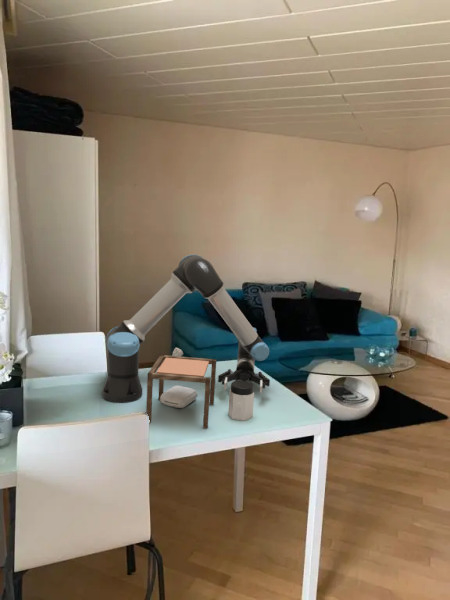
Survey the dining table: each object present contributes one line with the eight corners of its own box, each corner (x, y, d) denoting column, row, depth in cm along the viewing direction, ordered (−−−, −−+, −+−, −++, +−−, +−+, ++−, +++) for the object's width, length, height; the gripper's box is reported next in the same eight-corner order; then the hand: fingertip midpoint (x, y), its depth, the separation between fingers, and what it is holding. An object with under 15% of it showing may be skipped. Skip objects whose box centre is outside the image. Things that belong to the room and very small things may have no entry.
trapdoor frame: (146, 422, 164) (147, 373, 160) (159, 398, 184) (160, 354, 181) (207, 428, 162) (210, 379, 159) (213, 403, 183) (216, 359, 179)
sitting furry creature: (160, 372, 213) (161, 346, 211) (176, 369, 218) (178, 343, 216) (171, 378, 206) (172, 352, 204) (188, 375, 211) (189, 349, 209)
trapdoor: (156, 374, 163) (156, 371, 163) (165, 360, 178) (166, 357, 178) (203, 378, 162) (203, 375, 161) (208, 363, 177) (208, 361, 177)
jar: (225, 418, 171) (227, 386, 168) (230, 409, 179) (232, 378, 176) (250, 422, 169) (252, 390, 167) (254, 413, 177) (256, 382, 174)
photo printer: (174, 394, 189) (157, 405, 178) (174, 383, 189) (157, 394, 178) (197, 399, 185) (181, 411, 174) (198, 389, 184) (181, 400, 173)
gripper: (274, 380, 202) (275, 400, 181) (215, 375, 204) (209, 394, 183) (275, 363, 201) (277, 381, 180) (216, 358, 202) (210, 375, 182)
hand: (243, 388), depth 181 cm, fingers open, 13 cm apart
